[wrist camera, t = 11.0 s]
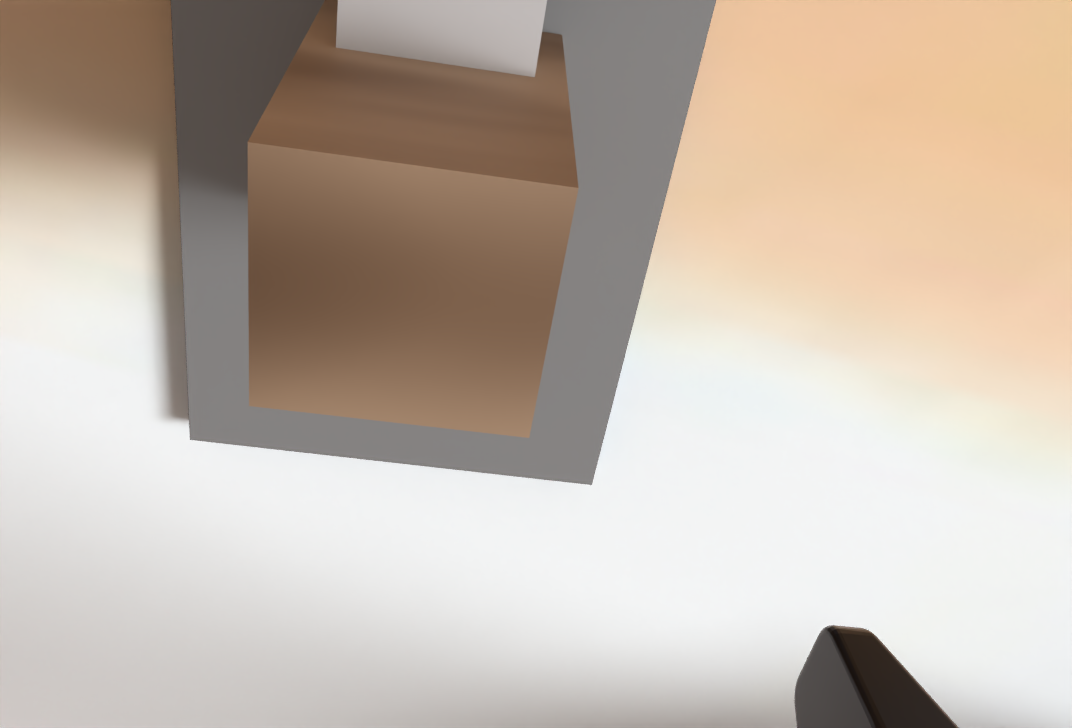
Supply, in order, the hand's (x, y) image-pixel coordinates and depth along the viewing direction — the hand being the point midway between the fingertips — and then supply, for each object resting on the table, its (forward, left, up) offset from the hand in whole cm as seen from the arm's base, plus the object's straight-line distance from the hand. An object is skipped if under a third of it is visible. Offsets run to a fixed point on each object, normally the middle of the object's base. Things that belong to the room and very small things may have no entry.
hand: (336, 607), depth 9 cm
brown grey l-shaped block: (+4, 0, -11) cm, 12 cm away
